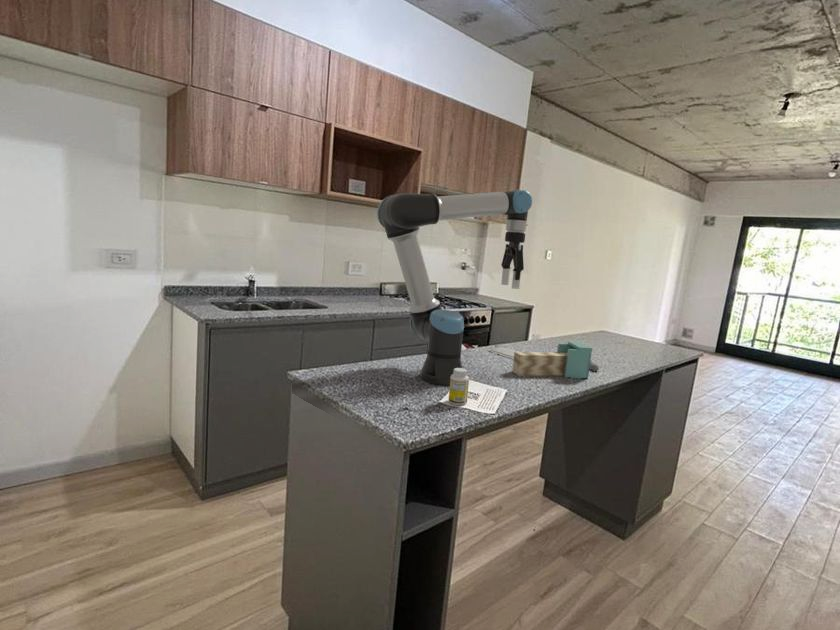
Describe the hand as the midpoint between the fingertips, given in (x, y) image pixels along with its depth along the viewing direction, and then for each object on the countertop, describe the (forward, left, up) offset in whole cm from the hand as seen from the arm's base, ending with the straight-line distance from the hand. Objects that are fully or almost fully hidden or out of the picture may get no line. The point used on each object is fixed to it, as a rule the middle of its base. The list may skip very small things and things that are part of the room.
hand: (509, 286), depth 178 cm
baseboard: (+12, +11, -32) cm, 36 cm away
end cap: (+25, -10, -32) cm, 42 cm away
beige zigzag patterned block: (+14, -10, -32) cm, 36 cm away
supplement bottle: (-27, -45, -32) cm, 61 cm away
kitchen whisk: (+39, +11, -32) cm, 52 cm away
